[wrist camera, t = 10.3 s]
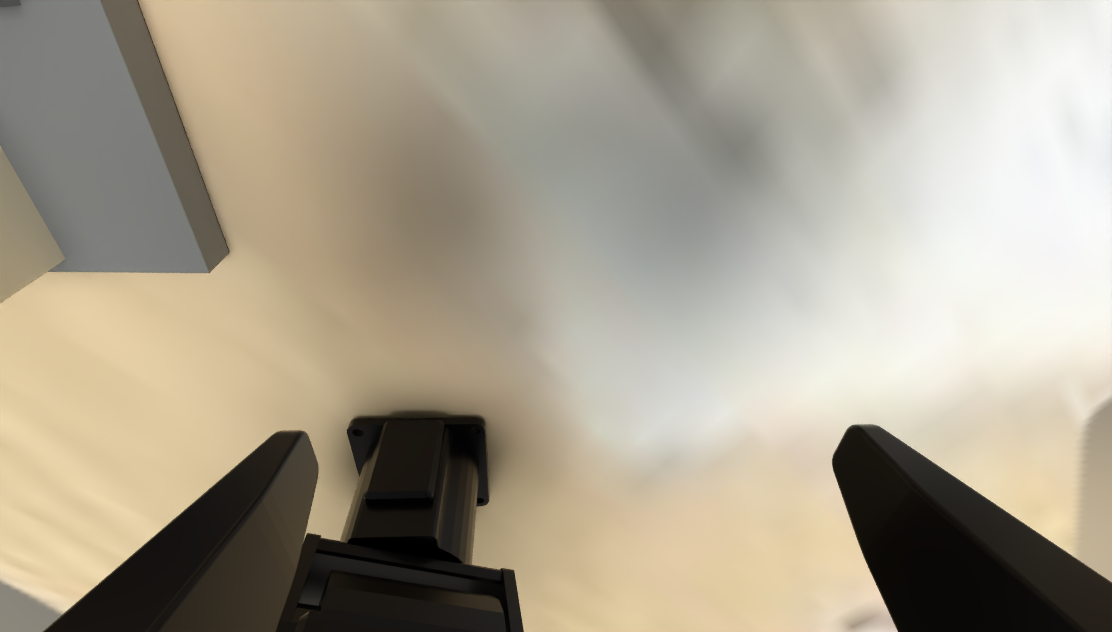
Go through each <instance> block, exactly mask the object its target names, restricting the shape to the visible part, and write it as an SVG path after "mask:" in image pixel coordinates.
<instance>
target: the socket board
mask: <svg viewBox="0 0 1112 632" xmlns="http://www.w3.org/2000/svg"><path fill="white" fill-rule="evenodd" d="M228 253H229V251H228V248H227V246H226V243H225V240H224V237H223V235H222V232H221V229H220V226H219V224H218V221H217V218H216V215H215V213H214V210H213V207H212V204H211V202H210V199H209V196H208V194H207V191H206V188H205V185H204V183H203V180H202V177H201V174H200V172H199V169H198V166H197V163H196V161H195V158H194V155H193V152H192V150H191V147H190V144H189V142H188V139H187V136H186V133H185V131H184V128H183V125H182V122H181V120H180V117H179V114H178V111H177V109H176V106H175V103H174V100H173V98H172V95H171V92H170V89H169V87H168V84H167V81H166V79H165V76H164V73H163V70H162V68H161V65H160V62H159V59H158V57H157V54H156V51H155V48H154V46H153V43H152V40H151V37H150V35H149V32H148V29H147V26H146V24H145V21H144V18H143V16H142V13H141V10H140V7H139V5H138V2H137V0H0V303H1V302H3V301H4V300H6V299H7V298H9V297H10V296H12V295H13V294H15V293H16V292H18V291H19V290H21V289H22V288H24V287H25V286H27V285H28V284H30V283H31V282H33V281H34V280H36V279H37V278H39V277H40V276H42V275H43V274H45V273H46V272H140V273H210V272H211V271H212V270H213V269H214V268H215V267H216V266H217V265H218V264H219V263H220V262H221V261H222V260H223V259H224V258H225V256H226V255H227V254H228Z"/></svg>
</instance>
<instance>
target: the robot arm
mask: <svg viewBox="0 0 1112 632" xmlns="http://www.w3.org/2000/svg"><path fill="white" fill-rule="evenodd" d="M474 428H477V429H474ZM358 429H360V430H358ZM347 434H348V438H349V442H350V445H351V449H352V452H353V456H354V459H355V463H356V467H357V470H358V474H359V477H360V478H359V481H358V484H357V487H356V491H355V494H354V497H353V500H352V504H351V507H350V510H349V513H348V517H347V520H346V523H345V526H344V530H343V533H342V536H341V539H340V541H336V540H330V539H324V538H320V537H321V535H316V534H311V533H307V535H306V537H305V540H304V536H305V532H306V527H307V523H308V519H309V514H310V510H311V506H312V501H313V497H314V492H315V488H316V484H317V479H318V462H317V459H316V456H315V453H314V451H313V448H312V445H311V442H310V439H309V436H308V434H307V433H306V432H304V431H301V430H295V431H279V432H276V433H275V434H273V435H272V436H271V437H269V438H268V439H267V440H266V441H265V442H264V443H262V444H261V445H260V446H259V447H258V448H257V449H255V450H254V451H253V452H252V453H251V454H250V455H248V456H247V457H246V458H245V459H244V460H243V461H241V462H240V463H239V464H238V465H237V466H236V467H234V468H233V469H232V470H231V471H230V472H229V473H227V474H226V475H225V476H224V477H223V478H222V479H220V480H219V481H218V482H217V483H216V484H215V485H213V486H212V487H211V488H210V489H209V490H208V491H206V492H205V493H204V494H203V495H202V496H201V497H199V498H198V499H197V500H196V501H195V502H194V503H192V504H191V505H190V506H189V507H188V508H187V509H185V510H184V511H183V512H182V513H181V514H180V515H178V516H177V517H176V518H175V519H174V520H172V521H171V522H170V523H169V524H168V525H167V526H165V527H164V528H163V529H162V530H161V531H160V532H158V533H157V534H156V535H155V536H154V537H153V538H151V539H150V540H149V541H148V542H147V543H146V544H144V545H143V546H142V547H141V548H140V549H139V550H137V551H136V552H135V553H134V554H133V555H132V556H130V557H129V558H128V559H127V560H126V561H125V562H123V563H122V564H121V565H120V566H119V567H118V568H116V569H115V570H114V571H113V572H112V573H111V574H109V575H108V576H107V577H106V578H105V579H104V580H102V581H101V582H100V583H99V584H98V585H97V586H95V587H94V588H93V589H92V590H91V591H90V592H88V593H87V594H86V595H85V596H84V597H83V598H81V599H80V600H79V601H78V602H77V603H75V604H74V605H73V606H72V607H71V608H70V609H68V610H67V611H66V612H65V613H64V614H63V615H61V616H60V617H59V618H58V619H57V620H56V621H55V622H53V623H52V624H51V625H50V626H49V627H48V628H46V629H45V630H44V631H43V632H524V631H523V624H522V618H521V611H520V605H519V599H518V592H517V586H516V580H515V573H514V570H511V569H505V568H501V569H500V570H498V569H492V568H487V567H481V566H475V565H472V553H473V541H474V528H475V516H476V506H484V505H486V504H487V503H488V502H489V479H488V459H487V440H486V424H485V422H484V421H483V420H482V419H479V418H412V419H355V420H353V421H351V422H350V424H349V426H348V429H347ZM832 466H833V471H834V474H835V477H836V479H837V482H838V485H839V488H840V491H841V494H842V497H843V500H844V503H845V505H846V508H847V511H848V514H849V517H850V520H851V523H852V526H853V529H854V531H855V534H856V537H857V540H858V543H859V545H860V548H861V551H862V553H863V556H864V558H865V560H866V563H867V565H868V567H869V570H870V572H871V574H872V576H873V578H874V581H875V583H876V585H877V587H878V589H879V591H880V594H881V596H882V598H883V600H884V602H885V604H886V607H887V609H888V611H889V613H890V615H891V617H892V620H893V622H894V624H895V626H896V628H897V630H898V632H1112V582H1110V581H1109V580H1107V579H1106V578H1104V577H1103V576H1101V575H1100V574H1098V573H1097V572H1095V571H1094V570H1093V569H1091V568H1089V567H1088V566H1087V565H1085V564H1084V563H1082V562H1081V561H1079V560H1078V559H1076V558H1075V557H1073V556H1072V555H1070V554H1069V553H1067V552H1066V551H1064V550H1063V549H1061V548H1060V547H1058V546H1057V545H1055V544H1054V543H1052V542H1051V541H1049V540H1048V539H1046V538H1045V537H1043V536H1042V535H1040V534H1039V533H1037V532H1036V531H1034V530H1033V529H1032V528H1030V527H1029V526H1027V525H1026V524H1024V523H1023V522H1021V521H1020V520H1018V519H1017V518H1015V517H1014V516H1012V515H1011V514H1009V513H1008V512H1006V511H1005V510H1003V509H1002V508H1000V507H999V506H997V505H996V504H994V503H993V502H991V501H990V500H988V499H987V498H985V497H984V496H982V495H981V494H979V493H978V492H976V491H975V490H973V489H972V488H971V487H969V486H968V485H966V484H965V483H963V482H962V481H960V480H959V479H957V478H956V477H954V476H953V475H951V474H950V473H948V472H947V471H945V470H944V469H942V468H941V467H939V466H938V465H936V464H935V463H933V462H932V461H930V460H929V459H927V458H926V457H924V456H923V455H921V454H920V453H918V452H917V451H915V450H914V449H912V448H911V447H909V446H908V445H907V444H905V443H904V442H902V441H901V440H899V439H898V438H896V437H895V436H893V435H892V434H890V433H889V432H887V431H886V430H884V429H883V428H881V427H879V426H877V425H873V424H859V425H852V426H850V427H849V428H848V429H847V430H846V432H845V434H844V436H843V438H842V439H841V441H840V443H839V445H838V447H837V449H836V450H835V452H834V454H833V458H832ZM303 541H304V542H303Z"/></svg>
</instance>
